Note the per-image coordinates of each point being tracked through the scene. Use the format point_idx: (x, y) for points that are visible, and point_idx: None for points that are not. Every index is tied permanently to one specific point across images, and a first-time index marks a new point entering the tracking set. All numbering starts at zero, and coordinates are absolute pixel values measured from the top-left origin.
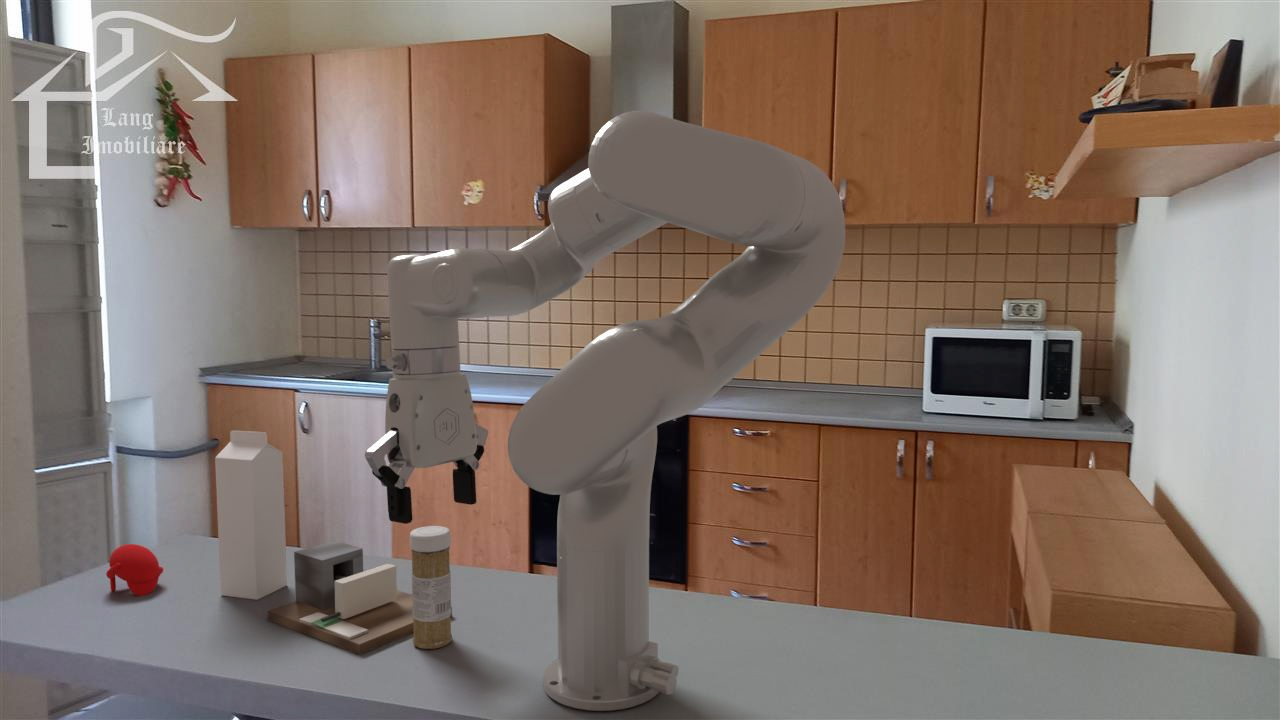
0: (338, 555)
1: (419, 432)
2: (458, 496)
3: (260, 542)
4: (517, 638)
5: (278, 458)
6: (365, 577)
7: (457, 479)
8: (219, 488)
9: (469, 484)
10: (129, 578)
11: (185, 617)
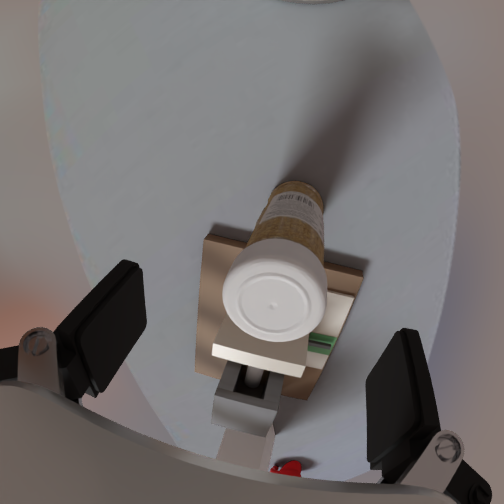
0: (252, 405)
1: None
2: (137, 322)
3: (253, 460)
4: (230, 103)
5: None
6: (267, 356)
7: (109, 362)
8: None
9: (105, 310)
10: (299, 475)
11: (324, 432)
